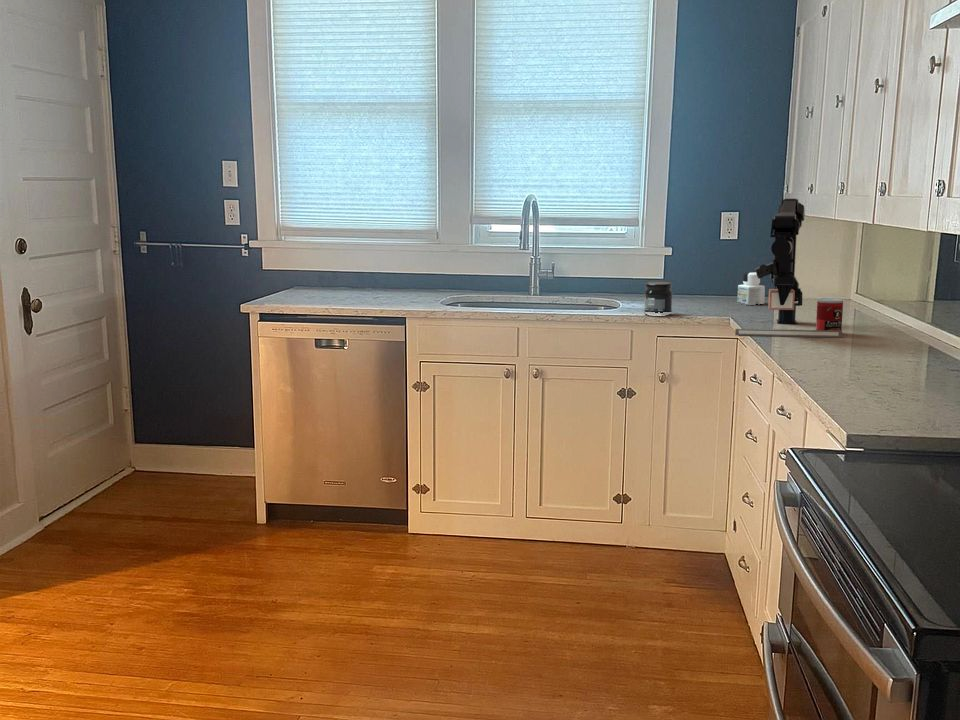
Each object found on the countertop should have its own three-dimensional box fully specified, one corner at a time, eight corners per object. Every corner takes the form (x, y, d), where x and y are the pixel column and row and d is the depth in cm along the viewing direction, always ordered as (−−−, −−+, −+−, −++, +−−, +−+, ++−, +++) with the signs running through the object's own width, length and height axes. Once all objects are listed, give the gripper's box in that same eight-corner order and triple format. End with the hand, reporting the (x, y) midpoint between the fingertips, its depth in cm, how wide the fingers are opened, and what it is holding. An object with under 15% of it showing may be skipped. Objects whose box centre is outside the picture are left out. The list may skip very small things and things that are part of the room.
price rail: (735, 334, 286) (735, 328, 286) (841, 336, 278) (841, 330, 278) (735, 335, 285) (735, 329, 285) (841, 337, 277) (842, 331, 277)
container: (736, 303, 362) (738, 272, 360) (753, 302, 365) (754, 271, 362) (747, 306, 355) (749, 273, 353) (764, 304, 357) (765, 272, 355)
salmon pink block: (768, 307, 288) (769, 289, 287) (792, 307, 287) (793, 289, 286) (769, 309, 284) (770, 290, 282) (794, 309, 282) (794, 291, 281)
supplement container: (670, 312, 340) (671, 281, 338) (673, 316, 330) (674, 284, 327) (642, 313, 341) (643, 281, 339) (644, 316, 331) (645, 284, 328)
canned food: (826, 336, 280) (827, 301, 278) (810, 332, 288) (812, 298, 286) (846, 334, 282) (848, 300, 280) (830, 331, 290) (832, 297, 288)
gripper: (755, 253, 293) (753, 300, 296) (758, 257, 275) (756, 307, 278) (791, 253, 290) (788, 300, 293) (796, 257, 272) (794, 308, 275)
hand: (781, 304), depth 285 cm, fingers closed on salmon pink block, 5 cm apart
